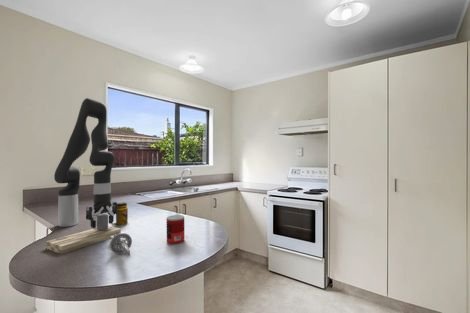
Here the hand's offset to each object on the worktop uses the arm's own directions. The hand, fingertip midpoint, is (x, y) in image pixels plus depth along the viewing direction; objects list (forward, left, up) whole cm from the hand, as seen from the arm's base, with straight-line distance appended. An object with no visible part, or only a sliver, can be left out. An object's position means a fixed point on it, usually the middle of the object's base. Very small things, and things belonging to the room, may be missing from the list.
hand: (102, 225), depth 112 cm
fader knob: (0, 0, -3) cm, 3 cm away
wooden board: (0, -8, -5) cm, 9 cm away
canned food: (+37, +10, -5) cm, 39 cm away
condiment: (-11, +18, -5) cm, 21 cm away
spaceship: (+27, -9, -5) cm, 29 cm away
